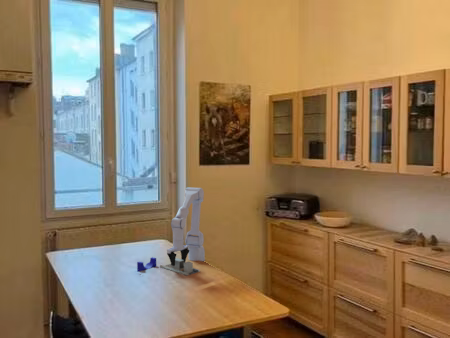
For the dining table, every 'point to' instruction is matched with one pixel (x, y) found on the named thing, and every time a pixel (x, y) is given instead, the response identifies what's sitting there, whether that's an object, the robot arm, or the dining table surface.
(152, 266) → the cable clip
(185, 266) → the small hollow grey box
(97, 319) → the dining table surface
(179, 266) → the pale grey block
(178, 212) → the robot arm
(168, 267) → the rail
